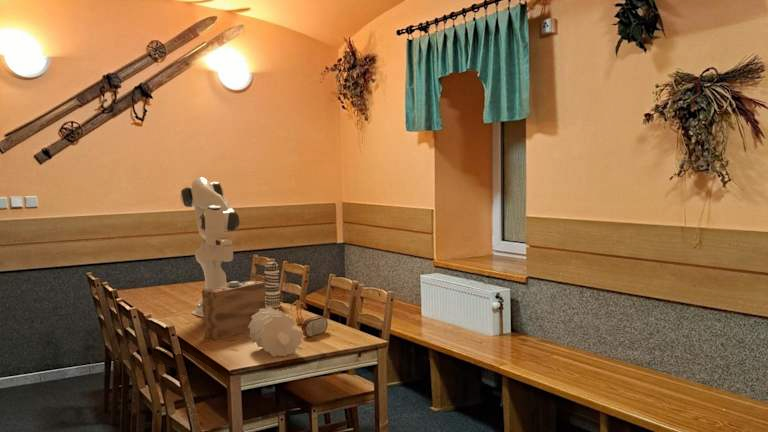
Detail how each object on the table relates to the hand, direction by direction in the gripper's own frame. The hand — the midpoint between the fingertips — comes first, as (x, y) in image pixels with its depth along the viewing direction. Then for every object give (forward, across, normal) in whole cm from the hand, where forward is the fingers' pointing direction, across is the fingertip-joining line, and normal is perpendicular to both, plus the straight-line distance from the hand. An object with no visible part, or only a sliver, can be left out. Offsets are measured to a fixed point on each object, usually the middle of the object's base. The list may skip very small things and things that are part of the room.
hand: (216, 269), depth 322 cm
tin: (+31, +40, +24) cm, 56 cm away
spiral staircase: (+31, +44, -6) cm, 54 cm away
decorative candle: (+32, -28, +61) cm, 74 cm away
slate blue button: (+10, 0, +10) cm, 14 cm away
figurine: (+31, +16, +37) cm, 51 cm away
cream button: (+12, 0, +20) cm, 23 cm away
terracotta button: (+12, 0, 0) cm, 12 cm away
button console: (+32, 0, +10) cm, 33 cm away
